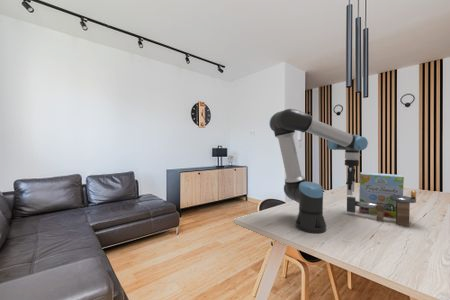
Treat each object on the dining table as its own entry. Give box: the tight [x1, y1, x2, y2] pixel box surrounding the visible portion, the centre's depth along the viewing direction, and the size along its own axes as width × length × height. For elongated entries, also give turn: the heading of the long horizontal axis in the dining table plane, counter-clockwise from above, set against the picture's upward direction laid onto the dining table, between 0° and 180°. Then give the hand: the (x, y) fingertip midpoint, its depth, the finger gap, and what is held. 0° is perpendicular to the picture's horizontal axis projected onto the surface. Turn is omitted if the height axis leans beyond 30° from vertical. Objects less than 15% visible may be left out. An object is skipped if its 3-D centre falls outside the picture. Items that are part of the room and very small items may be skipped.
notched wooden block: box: [376, 201, 411, 228], centre depth 117 cm, size 9×14×13 cm, turn 53°
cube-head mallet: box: [346, 195, 396, 214], centre depth 123 cm, size 4×24×9 cm, turn 54°
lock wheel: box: [390, 190, 417, 204], centre depth 114 cm, size 11×11×6 cm
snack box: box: [358, 171, 405, 219], centre depth 129 cm, size 22×9×26 cm, turn 59°
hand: (350, 193), depth 128 cm, fingers open, 13 cm apart
